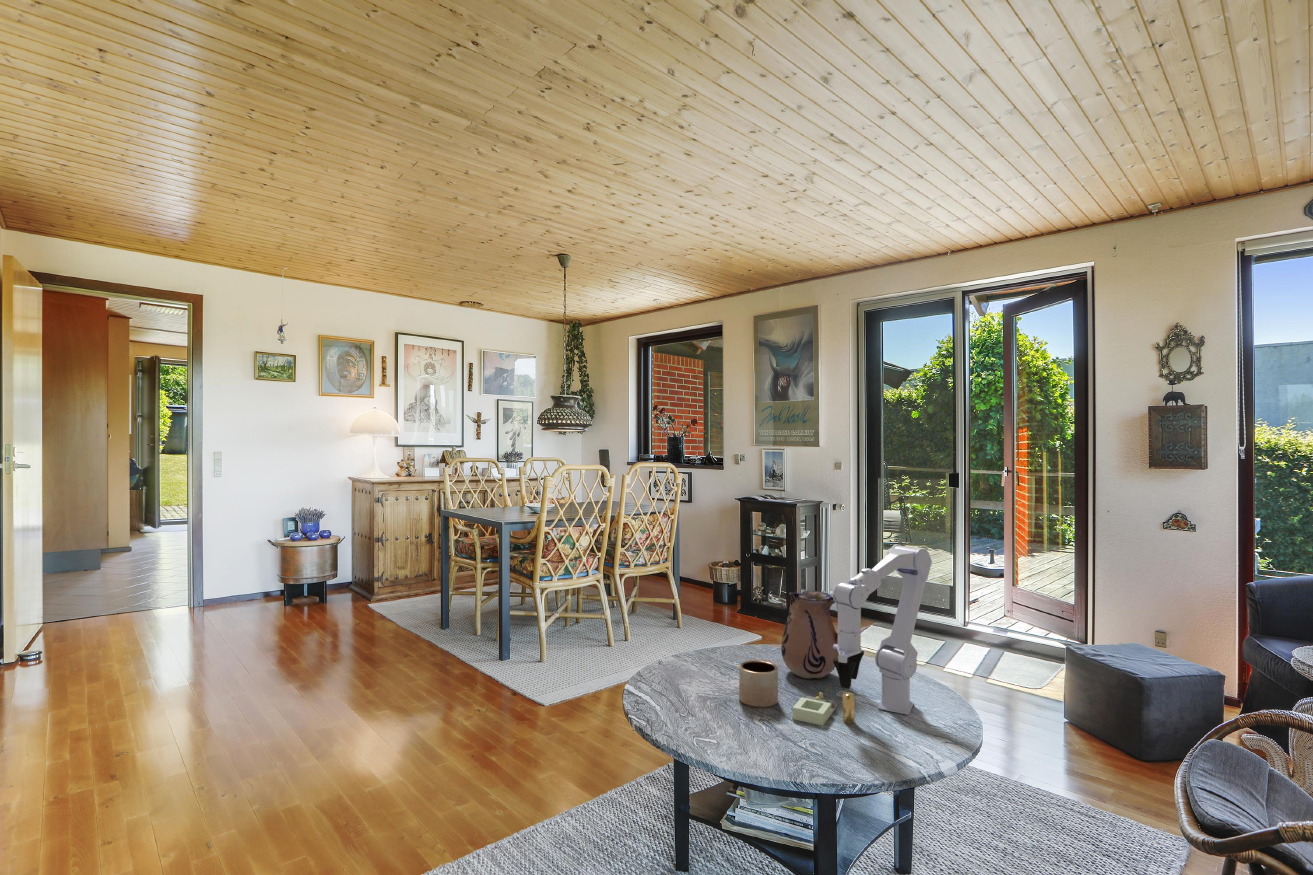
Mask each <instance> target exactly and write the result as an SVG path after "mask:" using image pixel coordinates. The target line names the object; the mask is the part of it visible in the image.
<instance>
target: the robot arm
mask: <svg viewBox="0 0 1313 875" xmlns="http://www.w3.org/2000/svg"><path fill="white" fill-rule="evenodd" d="M886 553H887V554H886V556H885V557H884V558H882V559H881V560H880V561H879V562H878V563H877V564H876V565H874V567H872V568H862V569H861V570H860V572H859V573H858V574H856V575H855V576H854V577H852V578H850V579H849V580H848V581H847V582H841V583H839V584H837V585H836V586H835V588H834V591H833V593H832V597H833V599H834V601H835V603H834V604H835V609H836V611H837V633H838V644H834V645H833V648H834V649H837V651H838V653H839V655H838V658H834V659H833V663H834V665H835V669H836V672H837V676H838V680H839V684H840V687H841V688H842V689H848V690H849V689H851V685H852V681H853V680H857V678H858V675H859V669H860V665H861V661H862V659H863V656H864V654H865V651H864V650H862V646H861V644H862V643H861V640H862V636H861V635H862V633H861V632H862V630H861V629H862V628H861V627H862V626H861V625H862V623H861V622H862V621H861V620H862V614H861V613H862V612H861V611H862V608H863V607H864V606H865V604H866V602H867V599H868V598H869V595H871V594H872V593H874V592H875V591H876V590H877V589H878V588H880V586H881V584H882V581H881V580H883V579H884V578H886V577H887V576H889V575H891V574H892V573H895V571H896V572H897V574H898V575H899V576H901V578H902V580H903V586H902V589H901V594H900V599H899V601H898V605H897V610H896V613H895V616H894V621H893V625H892V630H891V633H890V635H889V636H887V637H886V638H883V639H882V640H881V642H880V645H879V647H878V649H877V650H876V652H875V655H874V661H875V666H876V667H877V668H878V669H879V673H881V701H880V702H879V704H878V705H877V709H879V710H882V711H887V712H890V713H891V712H892V713H897V714H903V715H907V716H908V715H910V713H911V711H912V709H913V706H914V703H915V702H914V701H912V700H910V699H911V698H910V697H911V686H910V685H911V678H913V676H914V675H915V673H916V671H917V668H918V663H917V662H918V661H917V660H918V659H917V658H918V655H919V654H918V650H917V649H916V648H915V646H914V645H913V644H912V637H913V635H914V631H915V626H916V622H917V618H918V614H919V611H920V610H919V609H920V607H921V603H922V597H923V593H924V590H925V588H926V587H925V586H926V583H927V581H928V579H929V574H930V571H931V566H932V562H933V560H932V557H931V555H930V553H929V551H928V550H927V549H926V548H917V547H911V546H906V545H901V544H895V545H893V546H891V547H890V548H889V549H887V552H886ZM896 649H897V650H896Z"/></svg>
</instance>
